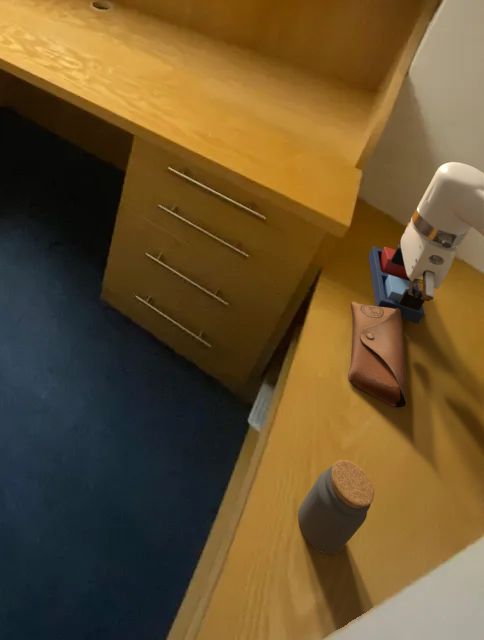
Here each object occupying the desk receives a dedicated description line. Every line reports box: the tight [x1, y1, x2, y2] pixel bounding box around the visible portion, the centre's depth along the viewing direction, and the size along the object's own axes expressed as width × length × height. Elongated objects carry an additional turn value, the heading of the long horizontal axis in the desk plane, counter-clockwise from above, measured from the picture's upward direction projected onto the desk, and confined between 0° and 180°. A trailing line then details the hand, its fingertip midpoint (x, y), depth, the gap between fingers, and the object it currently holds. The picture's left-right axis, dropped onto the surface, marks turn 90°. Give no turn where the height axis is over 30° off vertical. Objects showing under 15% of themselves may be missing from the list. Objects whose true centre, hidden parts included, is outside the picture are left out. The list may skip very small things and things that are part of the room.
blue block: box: [383, 275, 410, 303], centre depth 100 cm, size 4×4×4 cm
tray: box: [368, 246, 426, 324], centre depth 103 cm, size 7×13×3 cm, turn 156°
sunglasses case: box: [347, 300, 408, 409], centre depth 92 cm, size 18×7×7 cm, turn 151°
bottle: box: [297, 459, 375, 555], centre depth 68 cm, size 6×6×15 cm
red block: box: [379, 246, 407, 279], centre depth 105 cm, size 4×4×4 cm
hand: (403, 284), depth 98 cm, fingers open, 9 cm apart
